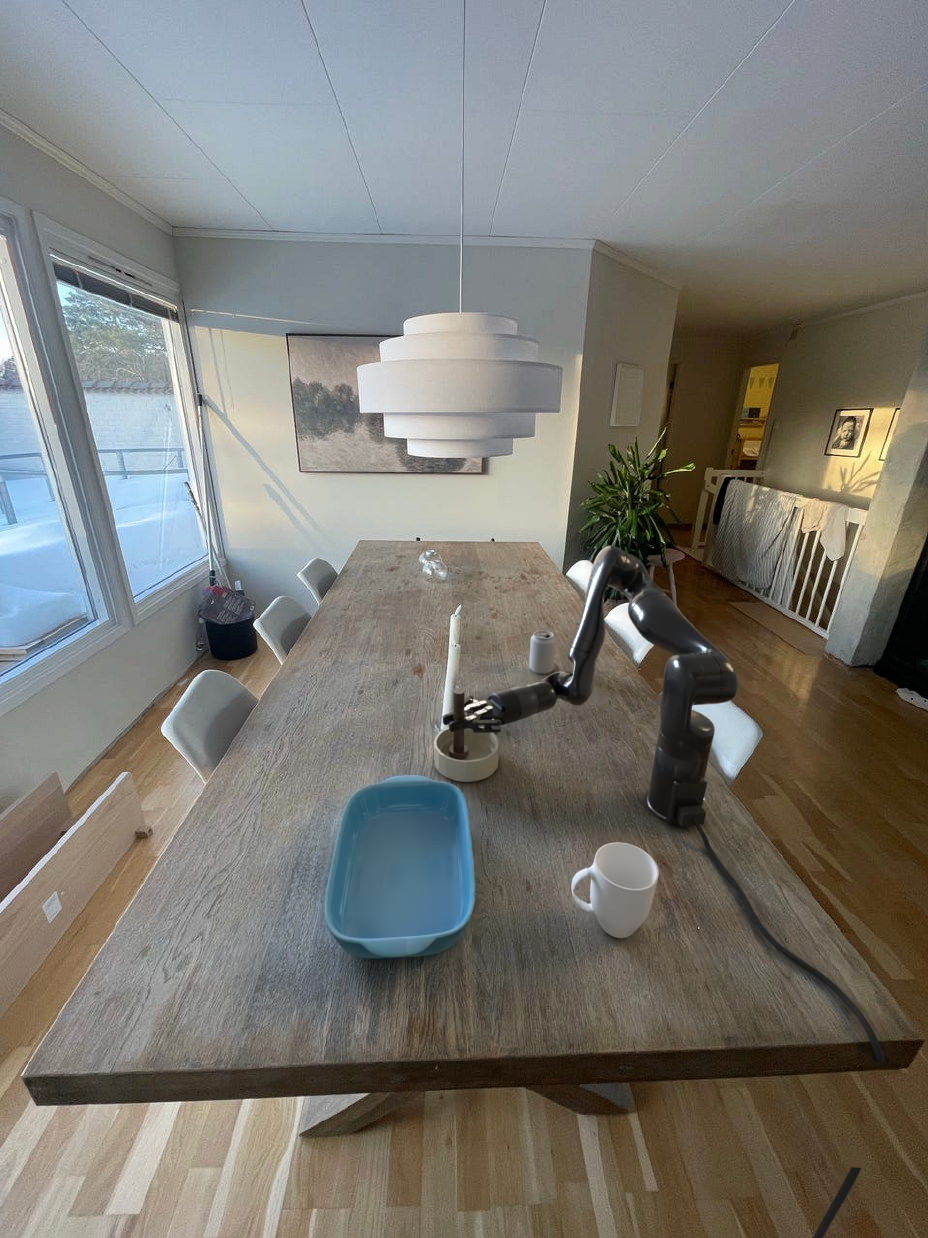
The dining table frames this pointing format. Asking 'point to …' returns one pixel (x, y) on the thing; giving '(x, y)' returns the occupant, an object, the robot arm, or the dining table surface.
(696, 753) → the robot arm
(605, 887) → the mug
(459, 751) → the stirring stick
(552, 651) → the can
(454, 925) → the casserole dish
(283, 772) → the dining table surface
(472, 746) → the bowl
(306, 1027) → the dining table surface
